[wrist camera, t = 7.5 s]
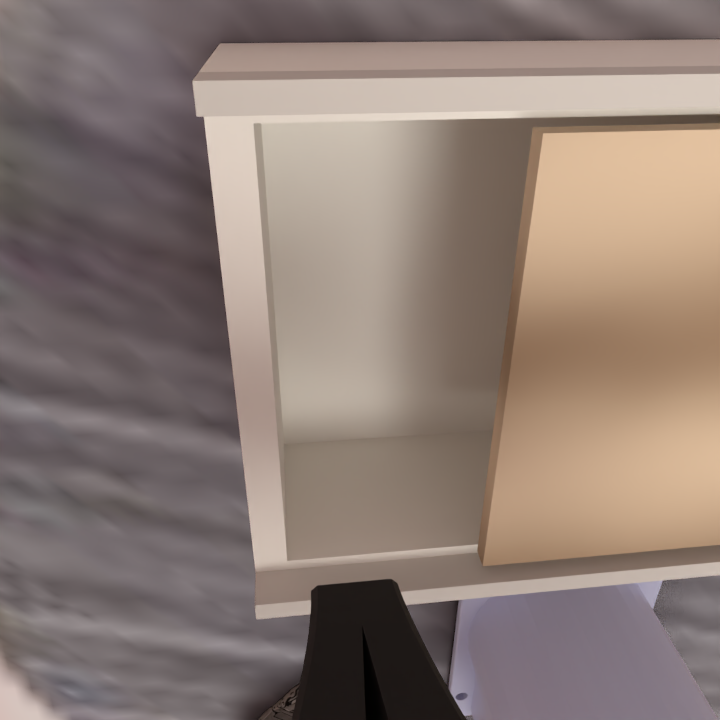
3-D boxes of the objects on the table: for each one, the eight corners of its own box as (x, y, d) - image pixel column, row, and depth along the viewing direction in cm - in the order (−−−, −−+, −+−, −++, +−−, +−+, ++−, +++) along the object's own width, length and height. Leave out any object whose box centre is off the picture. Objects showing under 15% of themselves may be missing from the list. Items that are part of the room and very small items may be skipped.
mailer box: (675, 430, 22) (796, 567, 17) (260, 460, 21) (256, 619, 16) (795, 38, 16) (1040, 69, 11) (220, 43, 15) (192, 80, 10)
